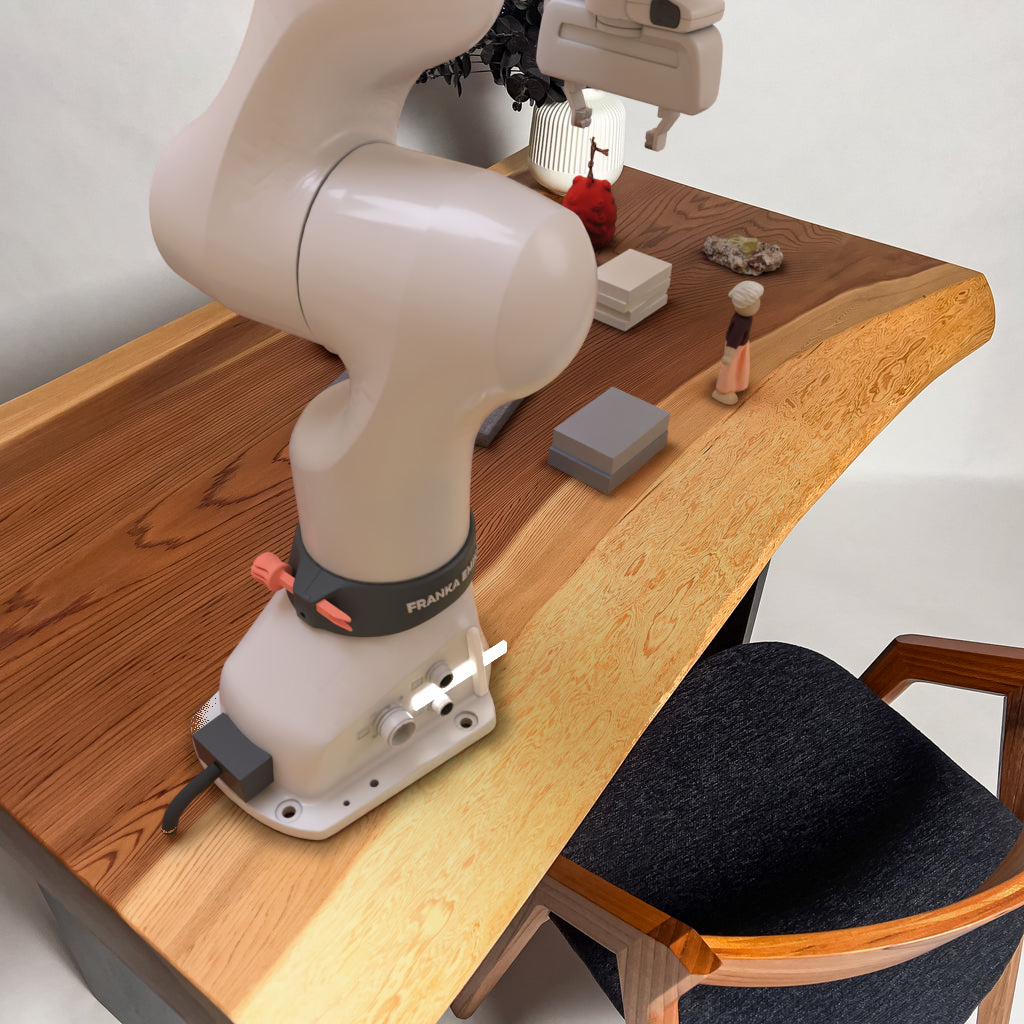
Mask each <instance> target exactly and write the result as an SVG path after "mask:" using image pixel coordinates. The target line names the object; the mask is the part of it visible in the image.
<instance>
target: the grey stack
mask: <svg viewBox="0 0 1024 1024" xmlns="http://www.w3.org/2000/svg"><path fill="white" fill-rule="evenodd" d="M670 418H671V412H670V411H667V410H665V409H663V408H661V407H659V406H656V405H655V404H652V403H650V402H647V401H646V400H643V399H641V398H639V397H637V396H634V395H632V394H630V393H628V392H626V391H623V390H621V389H619V388H617V387H615V386H611V387H609V388H608V389H607V390H605V391H604V392H602V394H600V395H598V396H597V397H596V398H595V399H593V400H591V401H590V402H588V404H586V405H584V406H583V407H581V408H580V409H579V410H578V411H577V412H575V413H574V414H572V415H571V416H570V417H568V418H567V419H565V420H563V422H561V423H560V424H558V425H557V426H556V427H554V428H553V432H552V445H550V446H549V447H548V457H547V465H549V466H551V467H552V468H554V469H557V470H558V471H560V472H562V473H564V474H566V475H568V476H570V477H572V478H574V479H576V480H577V481H579V482H581V483H583V484H585V485H587V486H589V487H591V488H592V489H595V490H597V491H599V492H601V493H603V494H604V495H606V496H608V495H609V494H611V493H612V492H613V491H614V490H616V489H617V488H618V487H619V486H621V485H622V484H623V483H624V482H625V481H627V480H628V479H629V478H630V477H631V476H632V475H634V473H636V472H637V471H639V469H641V468H642V467H643V466H644V465H645V464H647V462H649V461H650V460H651V459H652V458H654V457H655V456H656V455H657V454H659V453H660V452H661V451H662V450H663V449H664V448H666V446H667V442H668V441H667V440H668V435H669V430H668V429H669V424H670Z"/></svg>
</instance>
